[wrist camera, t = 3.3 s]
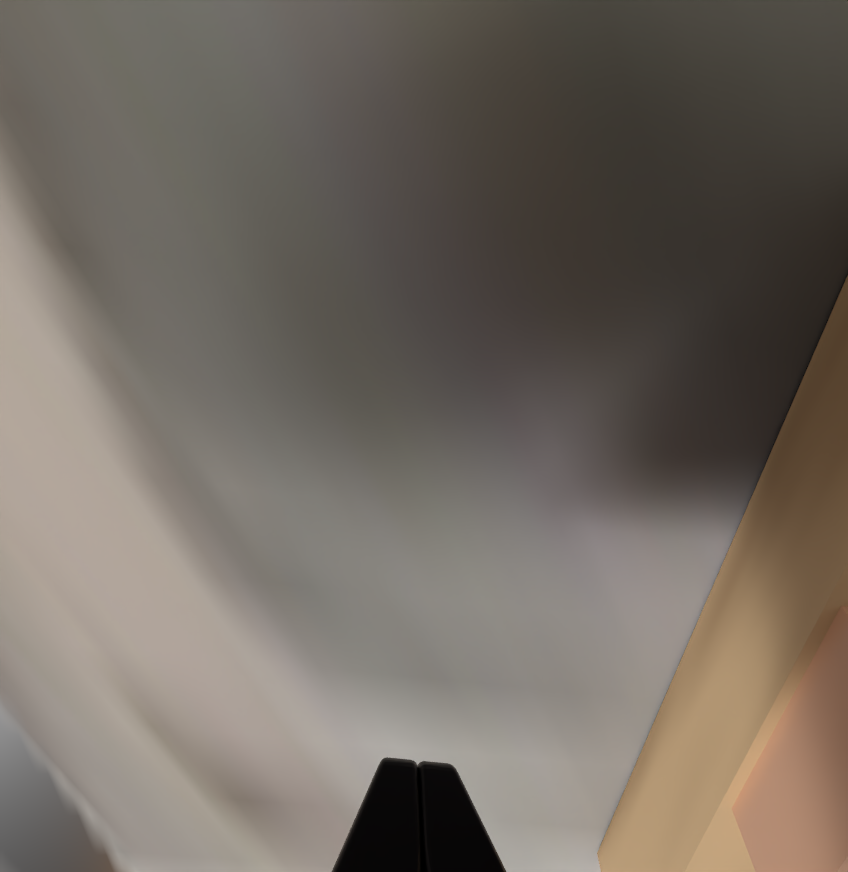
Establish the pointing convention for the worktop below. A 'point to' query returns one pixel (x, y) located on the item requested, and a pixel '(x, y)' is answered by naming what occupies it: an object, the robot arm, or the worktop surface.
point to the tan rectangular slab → (747, 639)
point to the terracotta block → (804, 772)
